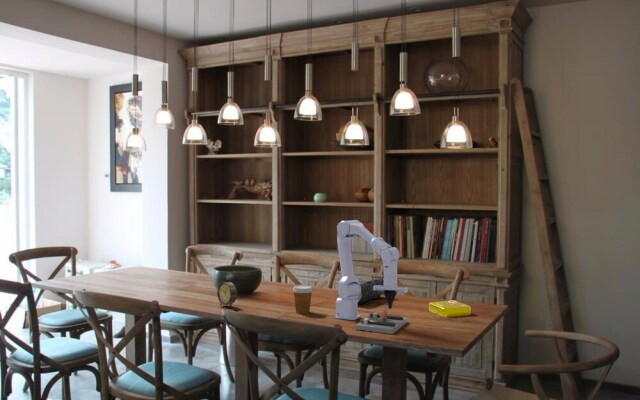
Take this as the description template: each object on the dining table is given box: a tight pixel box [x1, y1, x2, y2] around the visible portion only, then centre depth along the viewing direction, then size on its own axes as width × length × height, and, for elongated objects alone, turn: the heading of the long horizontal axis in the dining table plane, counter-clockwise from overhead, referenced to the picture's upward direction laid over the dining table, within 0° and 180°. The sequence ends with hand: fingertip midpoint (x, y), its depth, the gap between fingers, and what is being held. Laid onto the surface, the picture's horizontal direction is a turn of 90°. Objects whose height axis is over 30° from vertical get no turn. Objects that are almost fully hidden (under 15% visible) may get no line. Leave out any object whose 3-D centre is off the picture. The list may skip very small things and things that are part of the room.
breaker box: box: [355, 312, 408, 335], centre depth 246 cm, size 16×22×4 cm
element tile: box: [428, 299, 472, 318], centre depth 272 cm, size 15×15×5 cm
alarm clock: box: [216, 273, 238, 309], centre depth 284 cm, size 11×5×16 cm, turn 47°
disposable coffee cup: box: [292, 284, 314, 315], centre depth 272 cm, size 10×10×12 cm
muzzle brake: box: [358, 278, 384, 305], centre depth 298 cm, size 10×28×10 cm, turn 147°
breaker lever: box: [380, 305, 391, 321], centre depth 246 cm, size 1×5×6 cm, turn 156°
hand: (390, 308), depth 245 cm, fingers closed, pressing on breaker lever
